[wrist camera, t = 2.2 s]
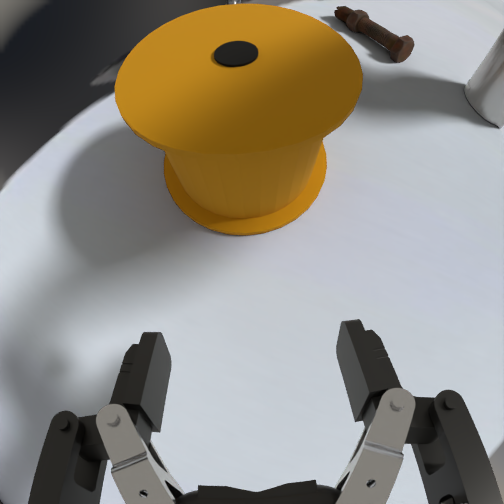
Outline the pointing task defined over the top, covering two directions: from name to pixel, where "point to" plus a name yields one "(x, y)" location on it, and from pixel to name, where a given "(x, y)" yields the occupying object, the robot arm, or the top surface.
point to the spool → (240, 110)
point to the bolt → (376, 32)
